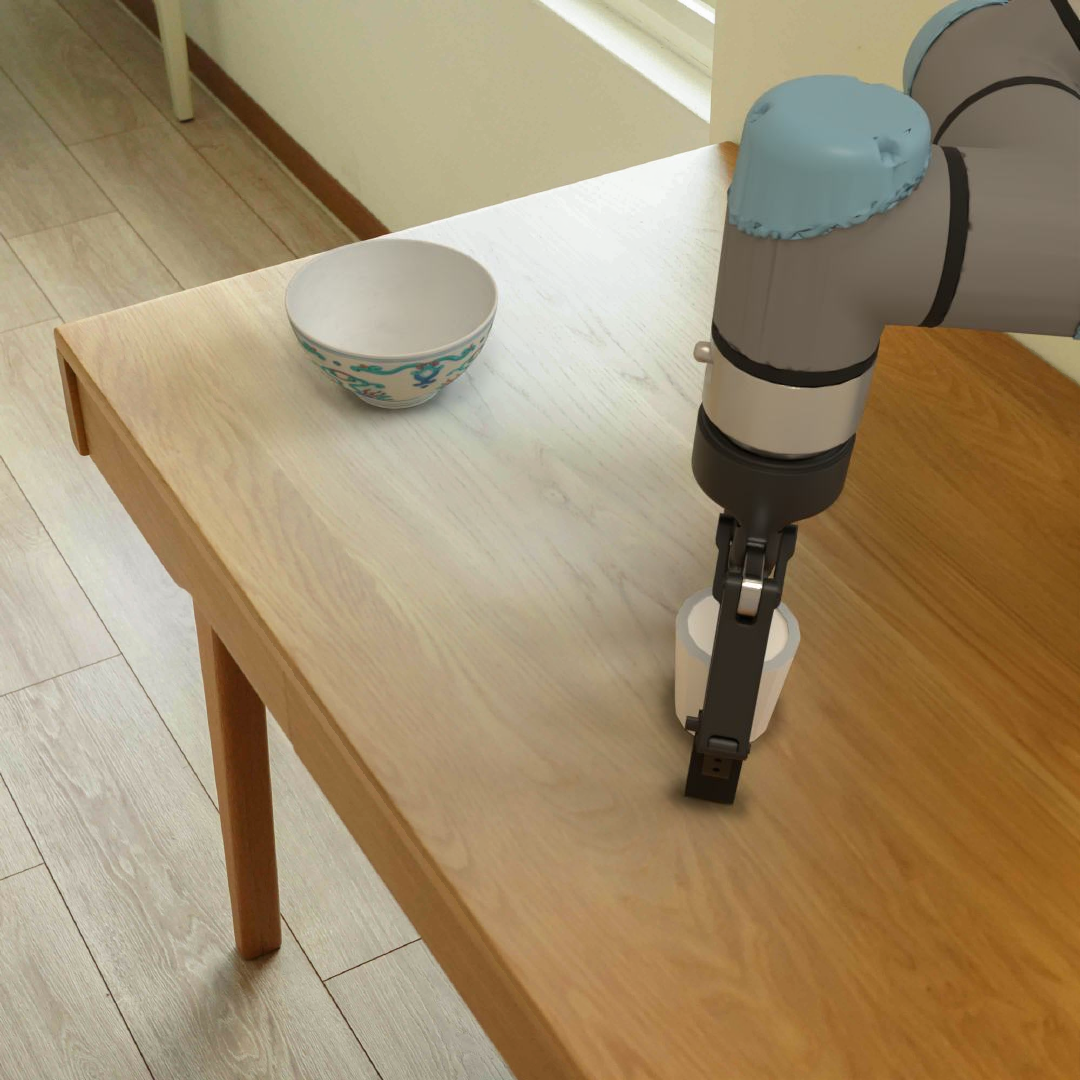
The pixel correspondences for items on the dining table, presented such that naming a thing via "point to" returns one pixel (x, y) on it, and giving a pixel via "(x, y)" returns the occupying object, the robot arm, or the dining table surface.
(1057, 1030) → the dining table surface
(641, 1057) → the dining table surface
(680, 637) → the shot glass
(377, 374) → the chinaware
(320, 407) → the dining table surface
